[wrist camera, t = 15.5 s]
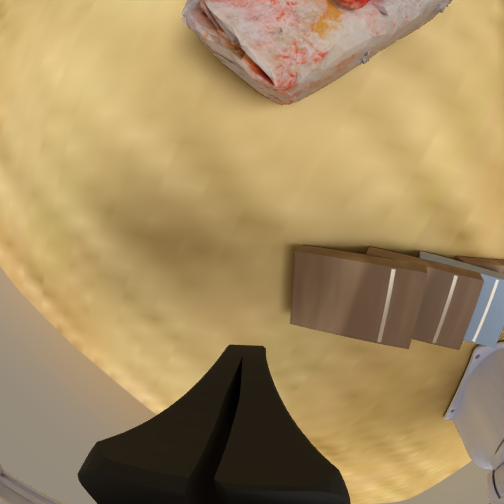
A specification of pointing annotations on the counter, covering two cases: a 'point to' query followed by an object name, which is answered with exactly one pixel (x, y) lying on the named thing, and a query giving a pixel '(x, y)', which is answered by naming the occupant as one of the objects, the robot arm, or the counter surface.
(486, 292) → the placed domino
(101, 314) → the counter surface
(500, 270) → the domino
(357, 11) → the food item
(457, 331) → the domino
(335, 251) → the domino
